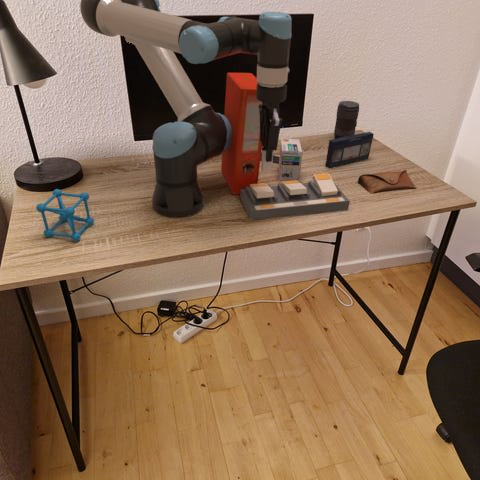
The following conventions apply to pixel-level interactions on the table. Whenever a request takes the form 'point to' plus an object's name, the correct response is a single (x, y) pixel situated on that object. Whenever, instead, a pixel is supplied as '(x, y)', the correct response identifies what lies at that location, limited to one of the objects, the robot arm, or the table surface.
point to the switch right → (325, 184)
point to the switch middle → (294, 187)
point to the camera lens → (346, 119)
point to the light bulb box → (290, 159)
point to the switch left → (261, 190)
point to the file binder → (242, 132)
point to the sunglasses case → (386, 181)
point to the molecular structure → (65, 214)
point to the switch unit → (292, 202)
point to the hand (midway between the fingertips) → (266, 170)
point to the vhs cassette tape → (349, 149)
